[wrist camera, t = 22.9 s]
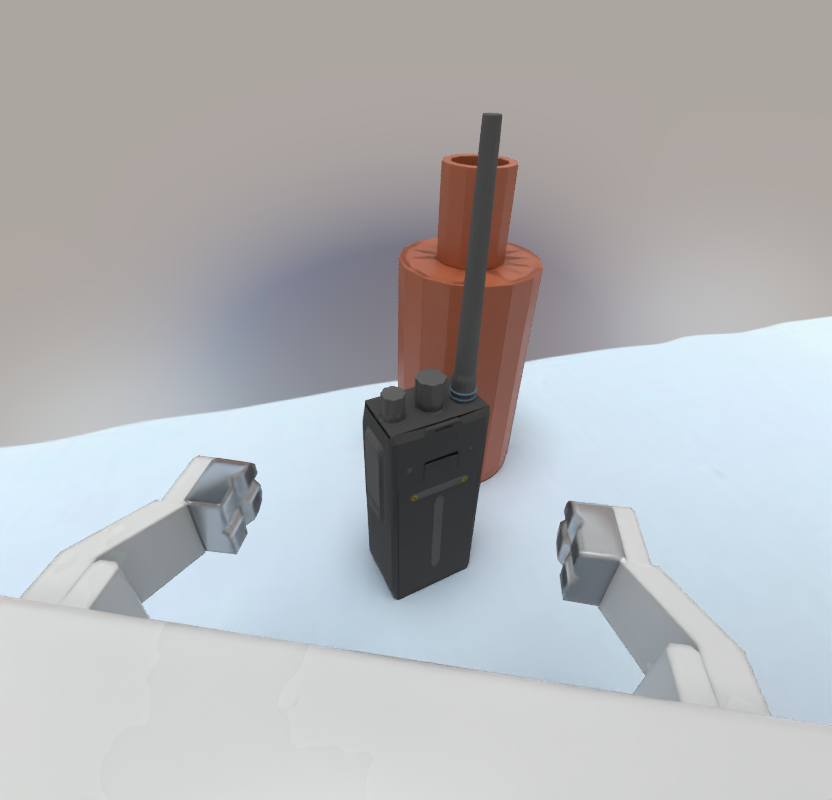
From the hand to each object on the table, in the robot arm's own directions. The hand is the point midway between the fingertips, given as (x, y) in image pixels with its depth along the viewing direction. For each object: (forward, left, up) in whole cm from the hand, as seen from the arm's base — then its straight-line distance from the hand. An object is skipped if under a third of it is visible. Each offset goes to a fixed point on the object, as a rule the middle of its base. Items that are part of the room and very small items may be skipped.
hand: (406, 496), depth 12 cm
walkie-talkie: (0, -6, -12) cm, 14 cm away
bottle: (-1, -15, -12) cm, 20 cm away
